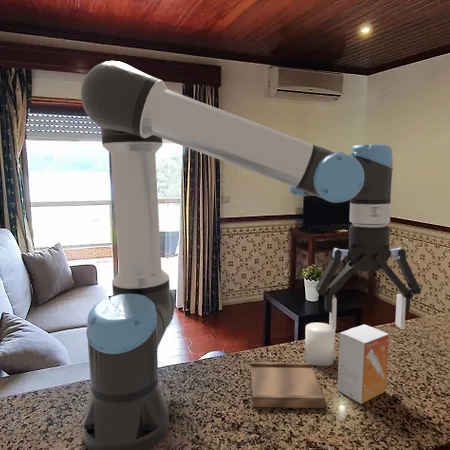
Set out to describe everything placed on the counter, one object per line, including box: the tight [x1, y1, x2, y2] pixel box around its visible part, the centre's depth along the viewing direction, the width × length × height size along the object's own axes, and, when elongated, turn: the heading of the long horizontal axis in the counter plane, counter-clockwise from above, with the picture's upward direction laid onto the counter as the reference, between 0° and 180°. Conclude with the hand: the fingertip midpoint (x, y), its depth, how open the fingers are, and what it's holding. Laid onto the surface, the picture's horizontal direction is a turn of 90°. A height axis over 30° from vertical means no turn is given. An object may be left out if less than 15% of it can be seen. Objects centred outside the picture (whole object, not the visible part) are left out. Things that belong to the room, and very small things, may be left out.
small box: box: [336, 323, 390, 405], centre depth 82 cm, size 8×6×13 cm
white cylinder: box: [304, 322, 336, 367], centre depth 97 cm, size 7×9×8 cm
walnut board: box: [250, 361, 326, 409], centre depth 84 cm, size 14×14×2 cm
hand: (366, 327), depth 80 cm, fingers open, 13 cm apart
